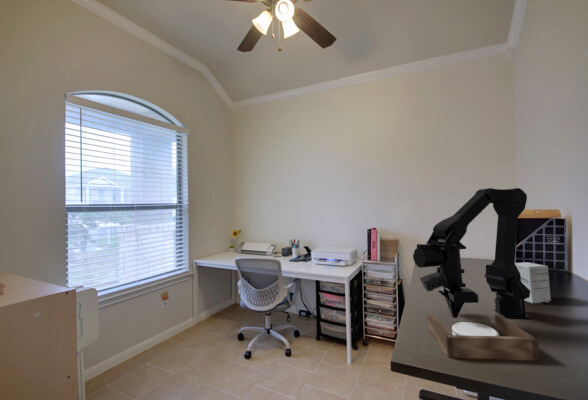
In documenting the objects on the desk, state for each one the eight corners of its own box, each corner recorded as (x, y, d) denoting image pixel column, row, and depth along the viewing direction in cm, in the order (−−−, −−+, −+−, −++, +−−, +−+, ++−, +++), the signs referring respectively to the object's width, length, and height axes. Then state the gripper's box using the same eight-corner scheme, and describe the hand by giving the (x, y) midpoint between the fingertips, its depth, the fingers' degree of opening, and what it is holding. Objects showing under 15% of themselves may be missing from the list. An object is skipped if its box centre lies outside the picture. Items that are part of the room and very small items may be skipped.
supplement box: (513, 297, 100) (510, 263, 100) (531, 296, 100) (528, 261, 101) (532, 304, 92) (528, 266, 93) (552, 302, 93) (548, 265, 94)
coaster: (478, 356, 62) (477, 340, 62) (443, 338, 72) (442, 324, 72) (510, 348, 65) (509, 333, 65) (473, 331, 74) (472, 318, 75)
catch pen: (501, 332, 73) (499, 315, 73) (539, 360, 59) (537, 339, 59) (428, 330, 76) (427, 314, 76) (448, 357, 62) (447, 337, 62)
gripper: (413, 260, 92) (416, 306, 91) (432, 272, 74) (437, 330, 73) (448, 259, 90) (452, 306, 89) (477, 271, 72) (482, 331, 71)
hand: (454, 317), depth 81 cm, fingers closed
